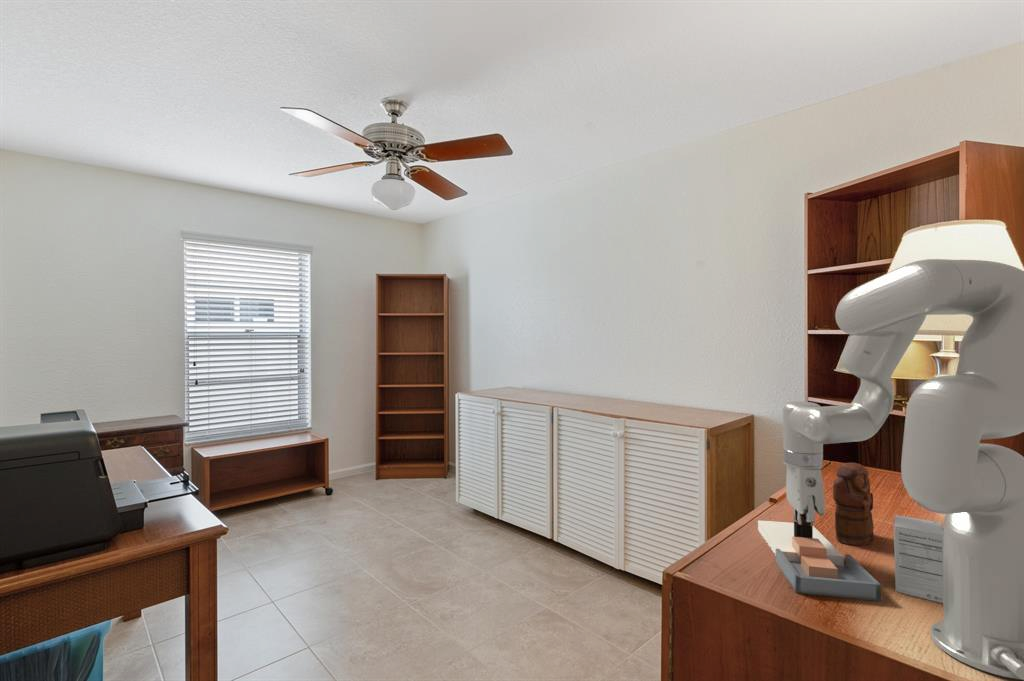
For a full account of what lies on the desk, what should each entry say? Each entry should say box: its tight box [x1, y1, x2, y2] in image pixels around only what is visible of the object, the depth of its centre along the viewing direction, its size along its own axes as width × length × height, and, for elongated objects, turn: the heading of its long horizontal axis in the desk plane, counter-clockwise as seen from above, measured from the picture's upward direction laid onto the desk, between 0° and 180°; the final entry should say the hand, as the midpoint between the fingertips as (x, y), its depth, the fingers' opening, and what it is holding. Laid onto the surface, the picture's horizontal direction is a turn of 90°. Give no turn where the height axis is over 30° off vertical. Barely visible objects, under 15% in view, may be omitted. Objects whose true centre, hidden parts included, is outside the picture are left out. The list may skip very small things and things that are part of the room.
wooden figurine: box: [832, 462, 875, 546], centre depth 115 cm, size 12×6×18 cm, turn 129°
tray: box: [775, 549, 882, 602], centre depth 96 cm, size 13×14×3 cm
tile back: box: [792, 537, 827, 558], centre depth 103 cm, size 5×5×2 cm
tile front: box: [801, 555, 838, 579], centre depth 98 cm, size 5×5×2 cm
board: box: [757, 520, 845, 566], centre depth 111 cm, size 18×12×2 cm, turn 167°
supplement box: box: [893, 514, 944, 604], centre depth 92 cm, size 7×7×13 cm
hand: (803, 540), depth 107 cm, fingers closed
